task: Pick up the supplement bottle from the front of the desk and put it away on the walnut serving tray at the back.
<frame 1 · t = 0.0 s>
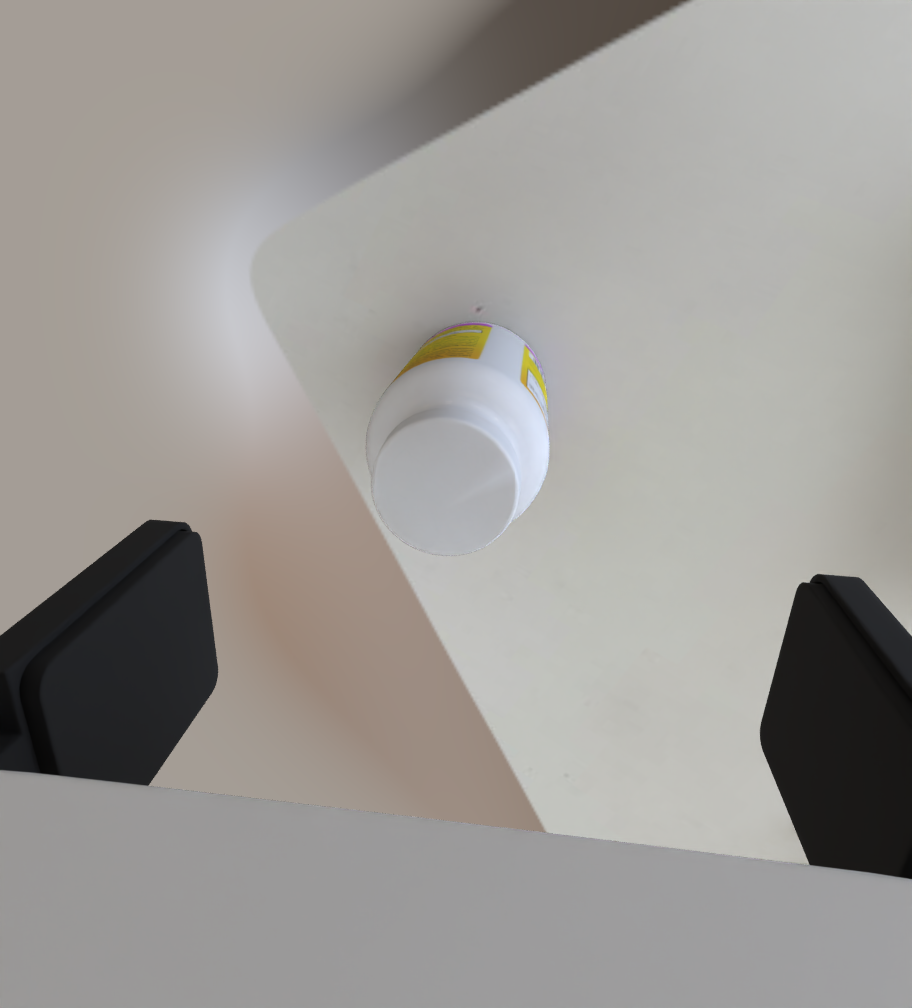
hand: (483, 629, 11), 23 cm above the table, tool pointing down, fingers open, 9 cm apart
supplement bottle: (477, 389, 33), on the table
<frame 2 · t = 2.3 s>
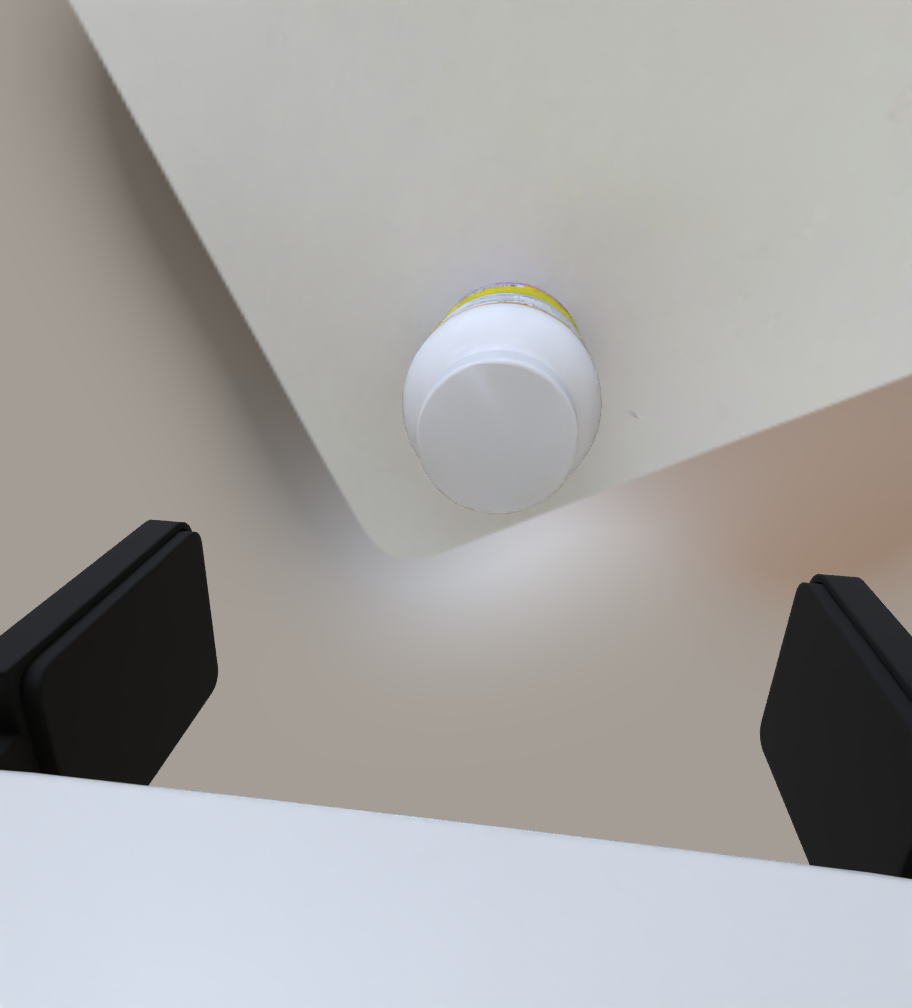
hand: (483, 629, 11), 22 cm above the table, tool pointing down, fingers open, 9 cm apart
supplement bottle: (508, 354, 31), on the table
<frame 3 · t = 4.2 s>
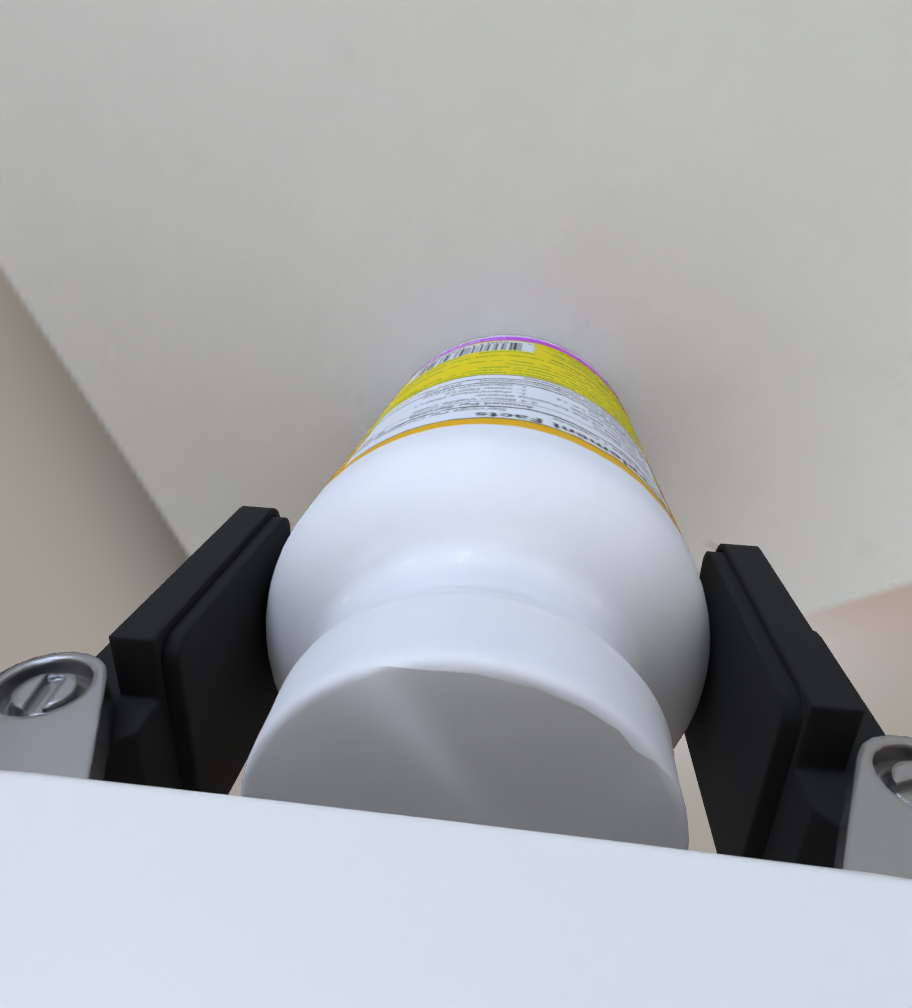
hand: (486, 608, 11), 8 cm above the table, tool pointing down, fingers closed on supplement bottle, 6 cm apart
supplement bottle: (508, 449, 19), on the table, touching gripper
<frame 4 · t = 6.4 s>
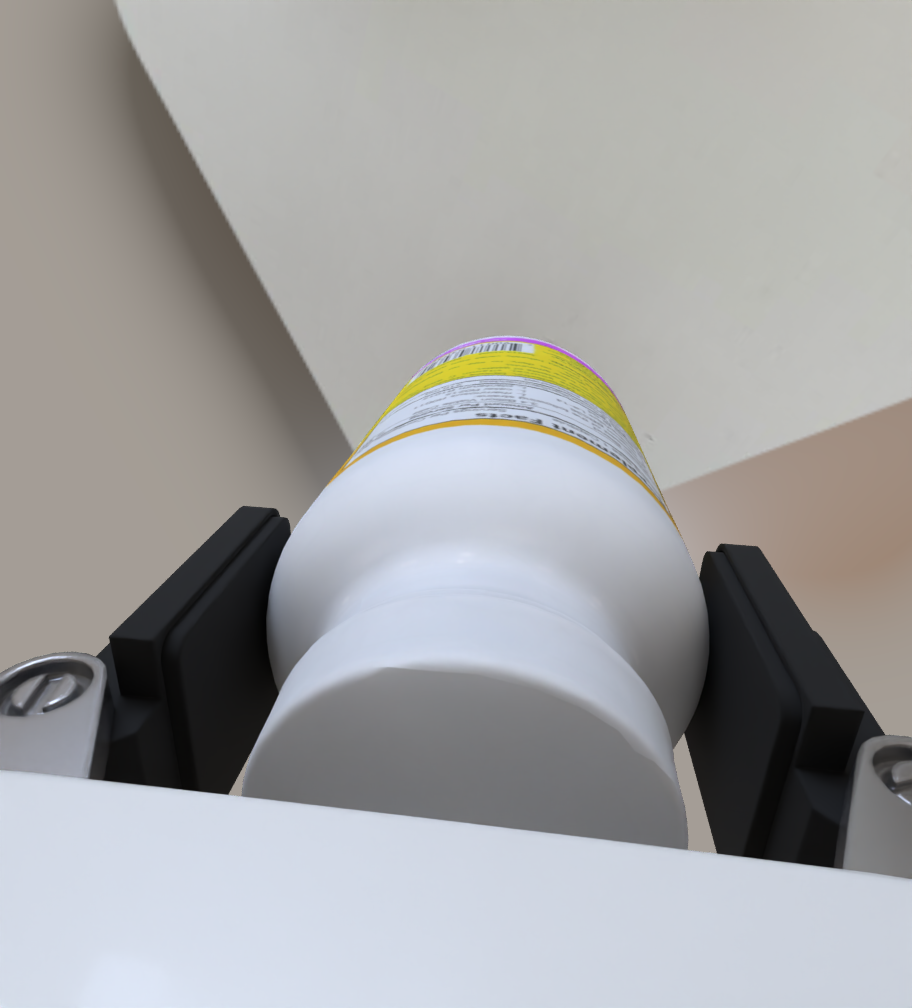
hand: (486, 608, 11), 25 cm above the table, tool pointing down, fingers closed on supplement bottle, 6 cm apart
supplement bottle: (508, 449, 19), point 16 cm above the table, touching gripper
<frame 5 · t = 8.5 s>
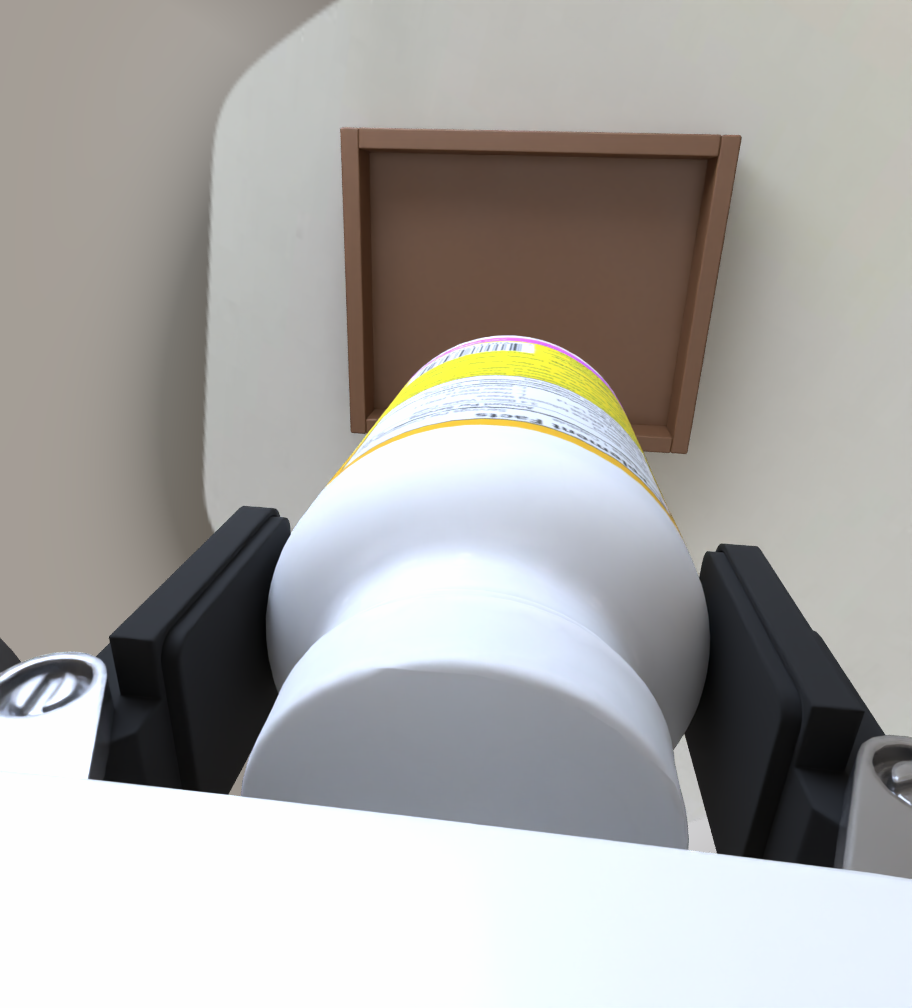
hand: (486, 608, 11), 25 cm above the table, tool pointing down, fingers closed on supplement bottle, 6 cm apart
tray: (525, 294, 33), on the table
supplement bottle: (508, 449, 19), point 17 cm above the table, touching gripper
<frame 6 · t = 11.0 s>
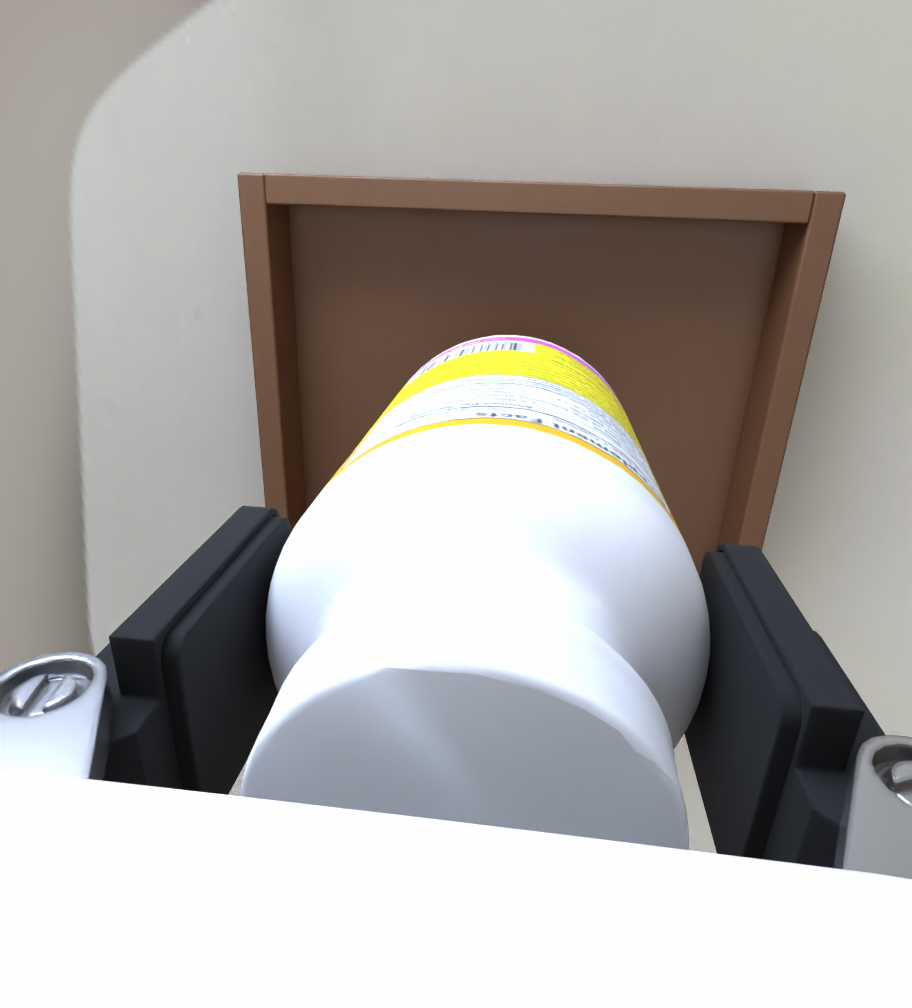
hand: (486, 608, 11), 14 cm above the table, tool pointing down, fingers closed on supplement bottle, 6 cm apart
tray: (515, 401, 24), on the table
supplement bottle: (508, 449, 19), point 5 cm above the table, touching gripper
when the fingers open (9 cm above the table, at t = 12.7 s): supplement bottle stays where it is, resting on tray.
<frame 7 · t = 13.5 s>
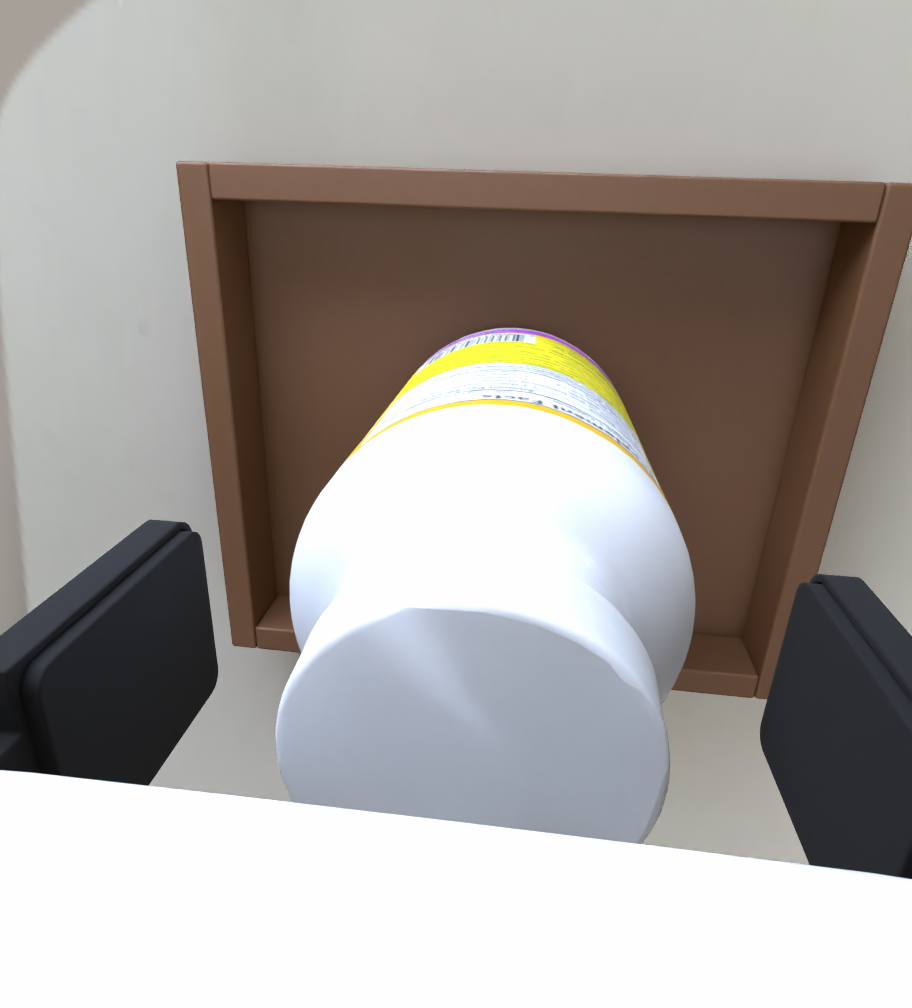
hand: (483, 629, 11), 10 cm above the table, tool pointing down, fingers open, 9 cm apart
tray: (515, 431, 20), on the table
supplement bottle: (510, 437, 20), resting on tray
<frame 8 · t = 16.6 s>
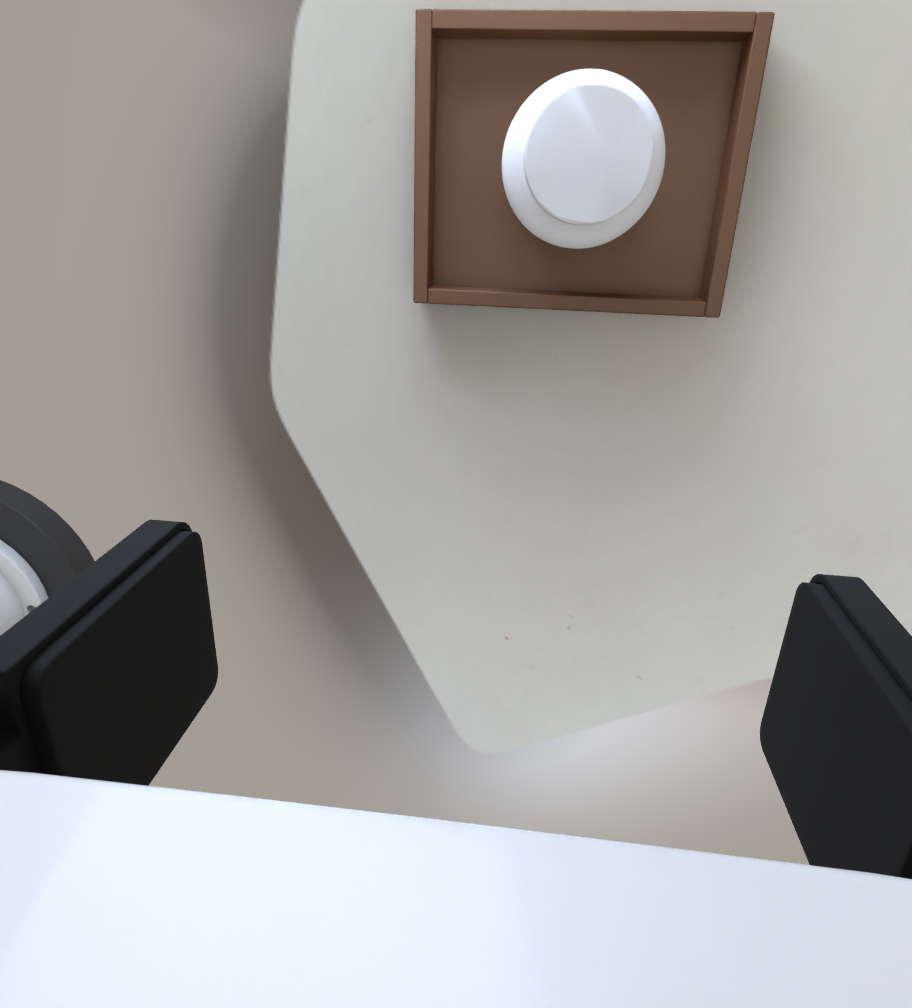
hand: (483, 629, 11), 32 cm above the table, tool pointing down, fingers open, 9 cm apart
tray: (573, 174, 37), on the table
supplement bottle: (572, 175, 37), resting on tray
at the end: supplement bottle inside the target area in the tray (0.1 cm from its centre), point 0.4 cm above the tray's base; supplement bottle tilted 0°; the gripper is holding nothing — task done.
